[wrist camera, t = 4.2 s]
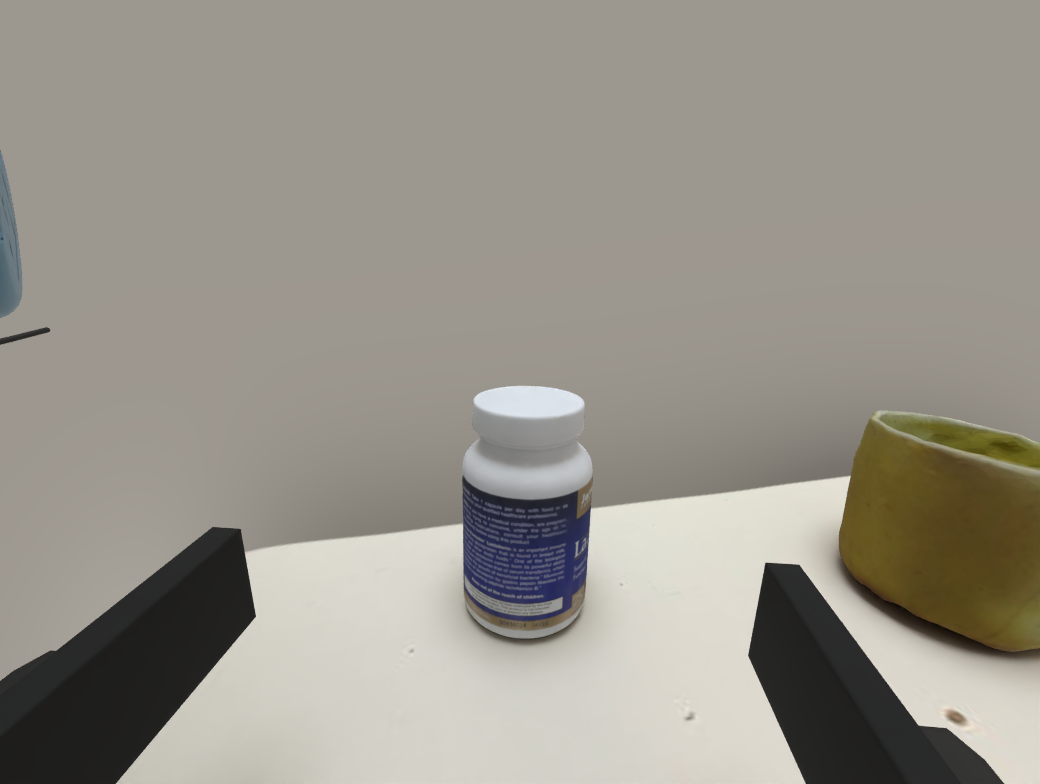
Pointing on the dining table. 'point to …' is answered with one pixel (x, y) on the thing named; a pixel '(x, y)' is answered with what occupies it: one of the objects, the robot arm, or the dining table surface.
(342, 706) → the dining table surface
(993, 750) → the dining table surface
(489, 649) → the dining table surface
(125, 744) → the robot arm
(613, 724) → the dining table surface
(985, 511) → the mug
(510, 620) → the pill bottle
